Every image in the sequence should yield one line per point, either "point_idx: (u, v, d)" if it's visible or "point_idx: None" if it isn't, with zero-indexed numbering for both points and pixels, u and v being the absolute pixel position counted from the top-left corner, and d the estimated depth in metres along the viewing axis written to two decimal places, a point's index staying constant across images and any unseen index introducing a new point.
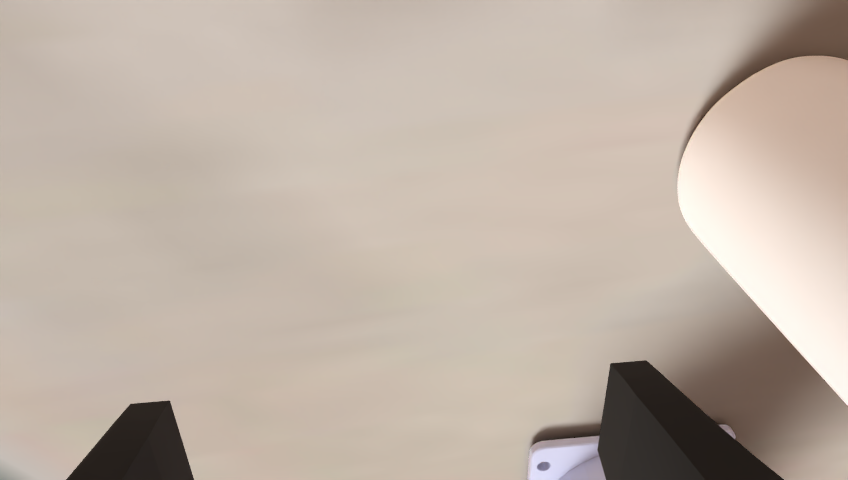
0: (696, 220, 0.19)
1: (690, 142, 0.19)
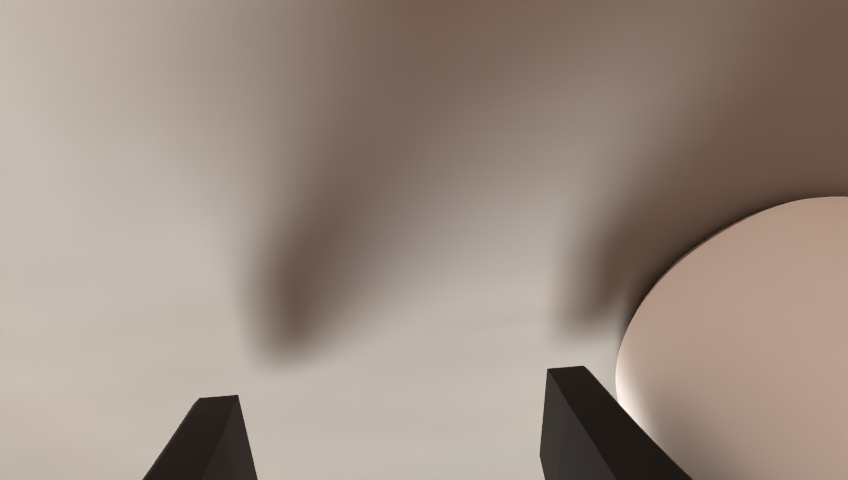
0: None
1: (633, 323, 0.12)
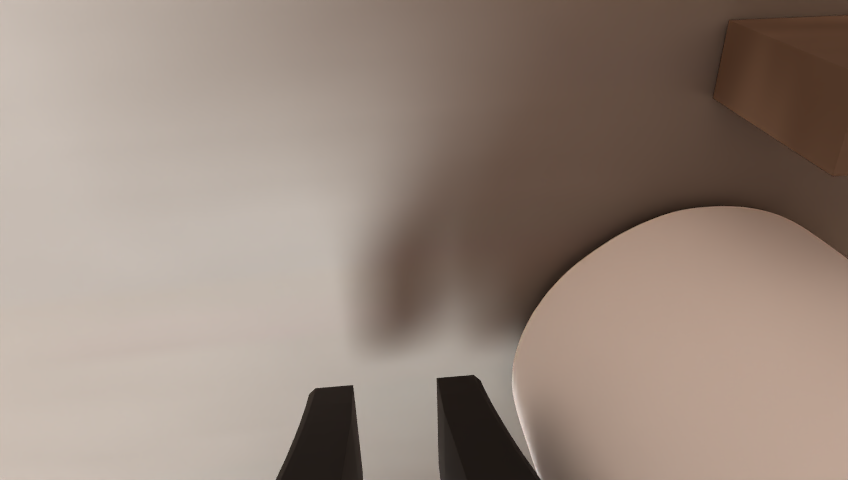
0: (533, 461, 0.11)
1: (525, 333, 0.11)
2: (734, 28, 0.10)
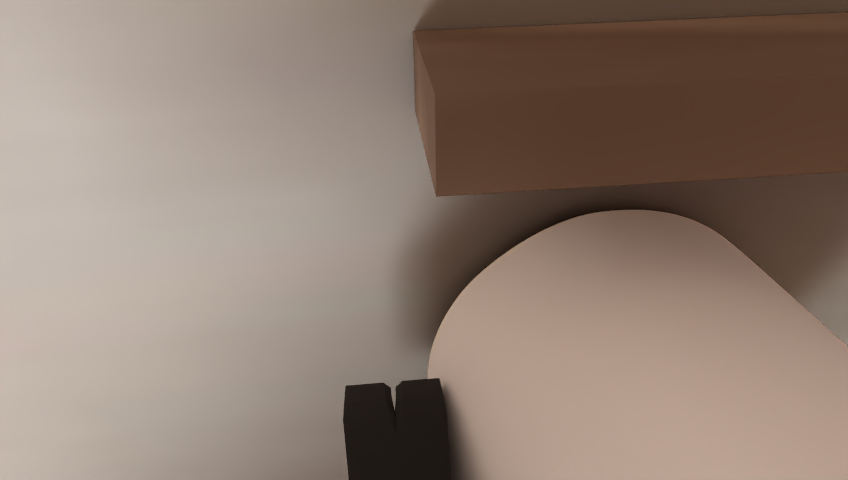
0: None
1: (435, 341, 0.11)
2: (413, 39, 0.09)
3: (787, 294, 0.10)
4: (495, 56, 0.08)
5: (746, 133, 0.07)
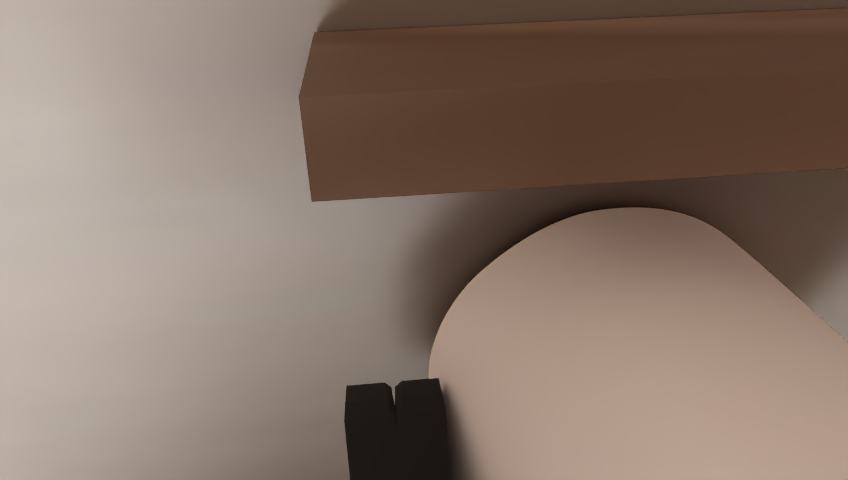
0: None
1: (436, 341, 0.11)
2: None
3: (788, 291, 0.09)
4: (381, 58, 0.08)
5: (627, 136, 0.07)
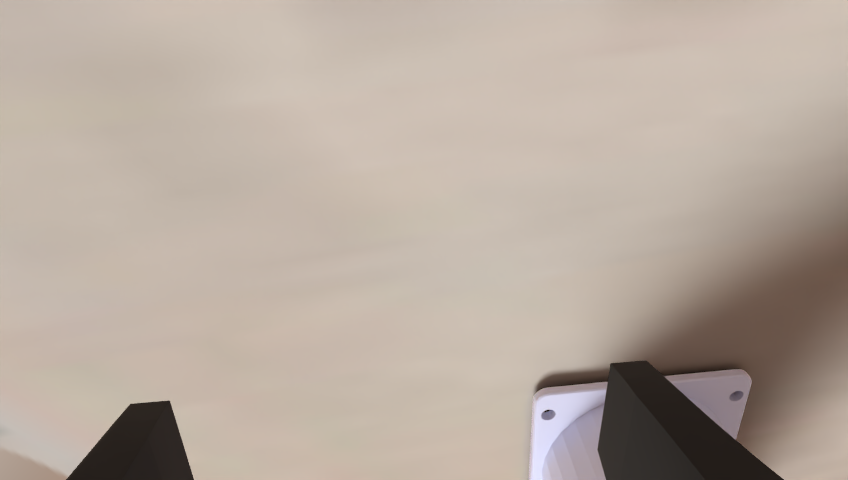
0: None
1: None
2: None
3: None
4: None
5: None
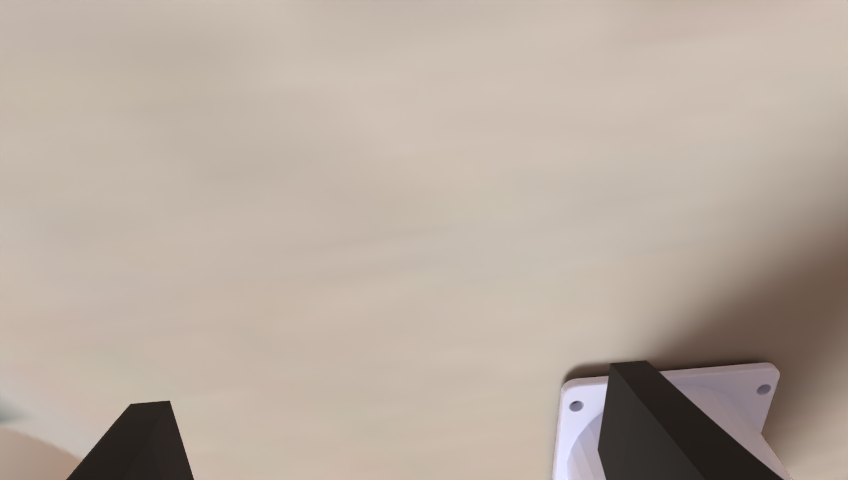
0: None
1: None
2: None
3: None
4: None
5: None
